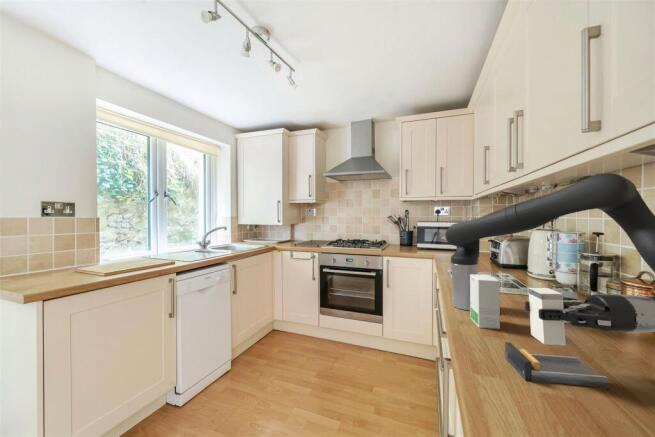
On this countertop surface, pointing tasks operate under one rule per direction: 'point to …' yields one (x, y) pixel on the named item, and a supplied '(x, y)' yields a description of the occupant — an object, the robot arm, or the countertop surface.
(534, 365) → the orange rectangular bar
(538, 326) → the block
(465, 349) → the countertop surface
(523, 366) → the dark grey open tray
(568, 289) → the food container
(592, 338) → the countertop surface
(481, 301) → the skincare box
